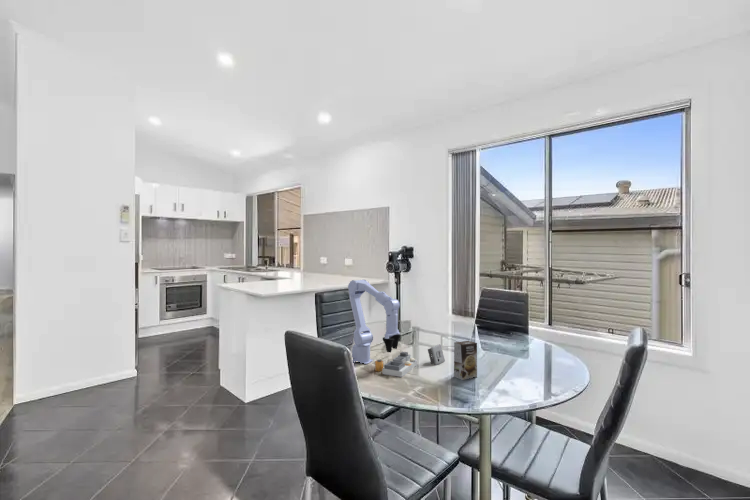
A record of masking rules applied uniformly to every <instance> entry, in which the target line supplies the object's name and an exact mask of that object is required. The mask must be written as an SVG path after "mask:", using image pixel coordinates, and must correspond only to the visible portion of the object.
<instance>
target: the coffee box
mask: <svg viewBox="0 0 750 500" xmlns="http://www.w3.org/2000/svg"><path fill="white" fill-rule="evenodd" d="M453 377H455V378H457V379H459V380H462V381H464V380H468V379H469V378H470V379H474V378H473V377H476V378H477V377H478V343H477V342H475V341H472V340H471V341H470V340H464V341H454V342H453Z"/></svg>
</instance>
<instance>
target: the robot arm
mask: <svg viewBox="0 0 750 500" xmlns="http://www.w3.org/2000/svg"><path fill="white" fill-rule="evenodd" d="M347 288H348V294H349V295H348V296H349V301H350V306H351V311H352V315H353V318H354V324H355V330H354V331H353V342H354V344H353V345H352V349H351V358H352V357H353V362H352V363H355V362H356V361H358V362H360V363H359V364H362V363H364V365H368V364H369V363H372V362H373V361H374V359H372V358H371V345H372V343H373V341H374V335H373V333H372V331H371V328H370V327H368V326H367V324H366V319H365V315H364V310H363V306H362V302H361V296H362V295H363V294H364V293H365V292H366V293H368V294H369V295H371V296H373V297H374V298H375V301H376V302H377V303H378V304H380V305H381V306H383V308H384V310H385V314H386V317H385V318H386V321H385V322H386V324H385V326H386V328H385V330H386V332H385V334H384V336H383V337H382V341H383V344H384V346H385V350H386V352H387V353H392V351H393V349H394V350H397V349H398V346H399V340H400V339H401V336H402V334H401V332H400V330H399V329H398V324H399V323H398V322H399V317H398V316H399V315H398V314H399V313H398V311H399V309H400V308H401V303H400V300H398V299H397V298H392V296H389V295H388V294H387V293H386V292H385V291H378V289H376V288H375V287H374V286H373V285H372V284H370V282H369V281H367V280H366V279H356V280H355V279H353V280H350V281H349V283H348V285H347ZM354 361H355V362H354Z"/></svg>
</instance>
